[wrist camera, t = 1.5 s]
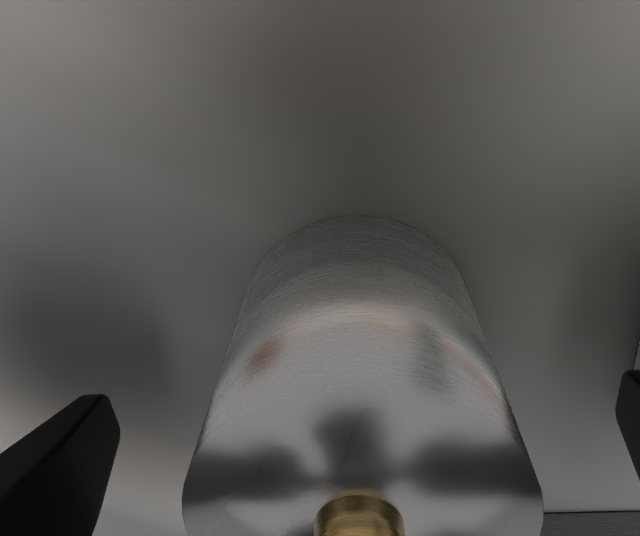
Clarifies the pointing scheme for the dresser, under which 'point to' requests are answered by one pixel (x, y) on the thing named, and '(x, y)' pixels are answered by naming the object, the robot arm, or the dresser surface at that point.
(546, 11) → the dresser surface
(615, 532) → the rail
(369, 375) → the silver bell
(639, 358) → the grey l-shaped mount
